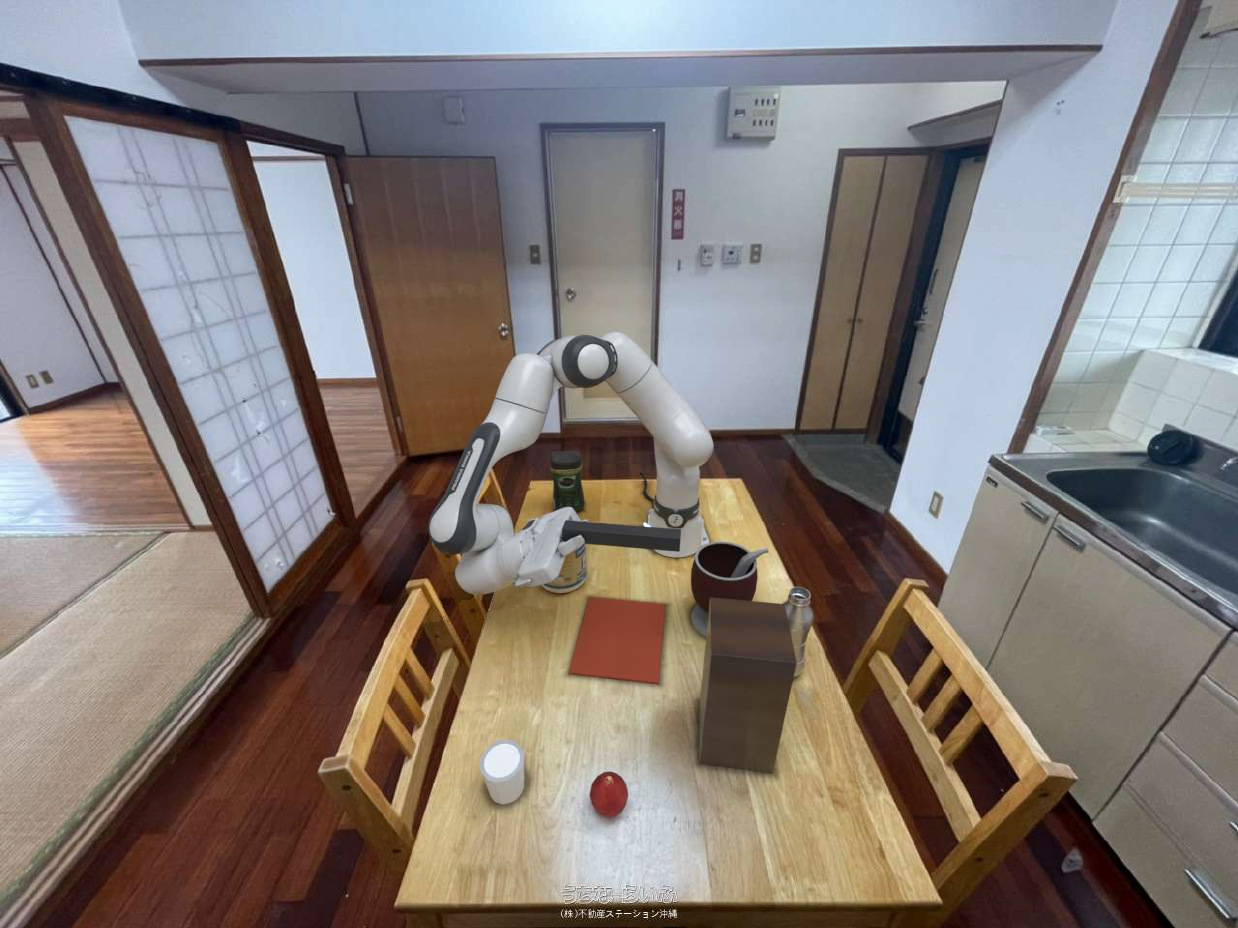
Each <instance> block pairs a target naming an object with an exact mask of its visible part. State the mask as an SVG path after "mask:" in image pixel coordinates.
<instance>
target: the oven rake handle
mask: <svg viewBox="0 0 1238 928" xmlns="http://www.w3.org/2000/svg"><path fill="white" fill-rule="evenodd" d="M578 533H583V534H584V536H585V537H586V539H585V543H584V544H586V545H595V546H606V547H618V548H631V549H632V548H633V549H641V550H652V551H654V550H664V551H676V552H680V540H681V529H671V528H658V527H646V526H644V525H633V524H632V525H631V524H621V523H606V522H596V521H595V522H592V521H588V522H583V521H582V520H580V521H570V520H565V522H564V525H563V527H562V541H563V542H566V541H568V540H570V539H571V538H573V536H574V535H576V534H578Z"/></svg>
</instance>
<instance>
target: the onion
mask: <svg viewBox="0 0 1238 928" xmlns="http://www.w3.org/2000/svg"><path fill="white" fill-rule="evenodd" d="M628 797H629V791H628V786H627V782H625V780H624V779H623V777H622V776H621V775H620V774H619V773H617V772H614V771H604V772H602V773H600V774H598V775H597V776H596V777H595V779H594V780H593V781H592V783H591V785H590V791H589V799H590V804H591V806H592V808H593V810H594V811H595V813H597V814H598V815H599V816H601V817H606V818H614V817H616V816H618V815H619V814H620V813H622V812H623V811H624V809H625V808H626V806H627V802H628Z"/></svg>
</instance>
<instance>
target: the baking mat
mask: <svg viewBox="0 0 1238 928" xmlns="http://www.w3.org/2000/svg"><path fill="white" fill-rule="evenodd" d="M665 615H666V603H657V602H649V601H637V600H625V599H615V598H607V597H606V598H605V597H594V596H589V598H588V601H587V605H586V609H585V612H584V616H583V619H582V622H581V627H580V631H579V635H578V638H577V641H576V645H575V647H574V648H575V649H574V652H573V656H572V660H571V663H570V666H569V669H568V675H574V676H582V677H592V678H601V679H611V680H616V681H617V680H618V681H627V682H628V681H629V682H637V683H645V684H652V685H653V684H654V685H659V684H660V674H661V661H662V650H663V639H664V627H665Z"/></svg>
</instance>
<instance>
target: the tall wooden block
mask: <svg viewBox="0 0 1238 928" xmlns="http://www.w3.org/2000/svg"><path fill="white" fill-rule="evenodd" d="M796 664H797V662H796V657H795V652H794V647H793V642H792V637H791V632H790V627H789V622H788V617H787V612H786V607H785V604H781V603H777V602H766V601H756V600H752V601H745V600H734V599H723V598H712V597H710V604H709V615H708V625H707V635H706V637H705V645H704V657H703V665H702V666H703V667H702V674H701V675H702V676H701V677H702V678H701V685H700V686H701V687H700V694H699V695H700V697H699V765H705V766H711V767H719V768H727V769H735V770H743V771H751V772H758V773H764V774H765V773H766V774H773V773H774V769H775V764H776V760H777V755H778V750H779V746H780V743H781V737H782V733H783V729H784V722H785V720H786V714H787V709H788V705H789V700H790V696H791V693H792V687H793V682H794V678H795V677H794V673H795V669H796Z"/></svg>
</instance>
